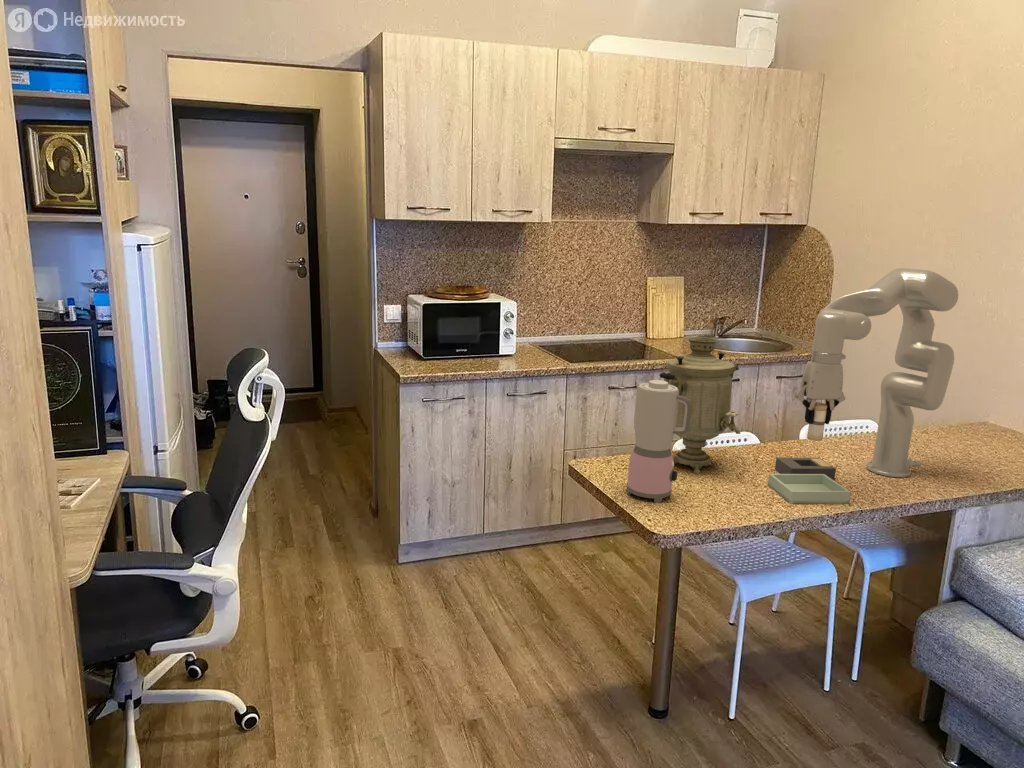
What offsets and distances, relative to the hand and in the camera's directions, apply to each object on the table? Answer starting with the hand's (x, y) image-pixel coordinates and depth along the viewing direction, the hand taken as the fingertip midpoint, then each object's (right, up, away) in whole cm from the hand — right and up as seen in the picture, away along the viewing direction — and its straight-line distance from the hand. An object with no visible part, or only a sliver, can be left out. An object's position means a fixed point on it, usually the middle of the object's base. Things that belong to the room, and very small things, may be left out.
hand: (817, 422), depth 204 cm
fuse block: (+5, -17, +20) cm, 27 cm away
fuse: (0, -5, +1) cm, 5 cm away
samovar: (-28, -16, +23) cm, 39 cm away
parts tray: (-1, -21, +5) cm, 21 cm away
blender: (-45, -20, -1) cm, 50 cm away
